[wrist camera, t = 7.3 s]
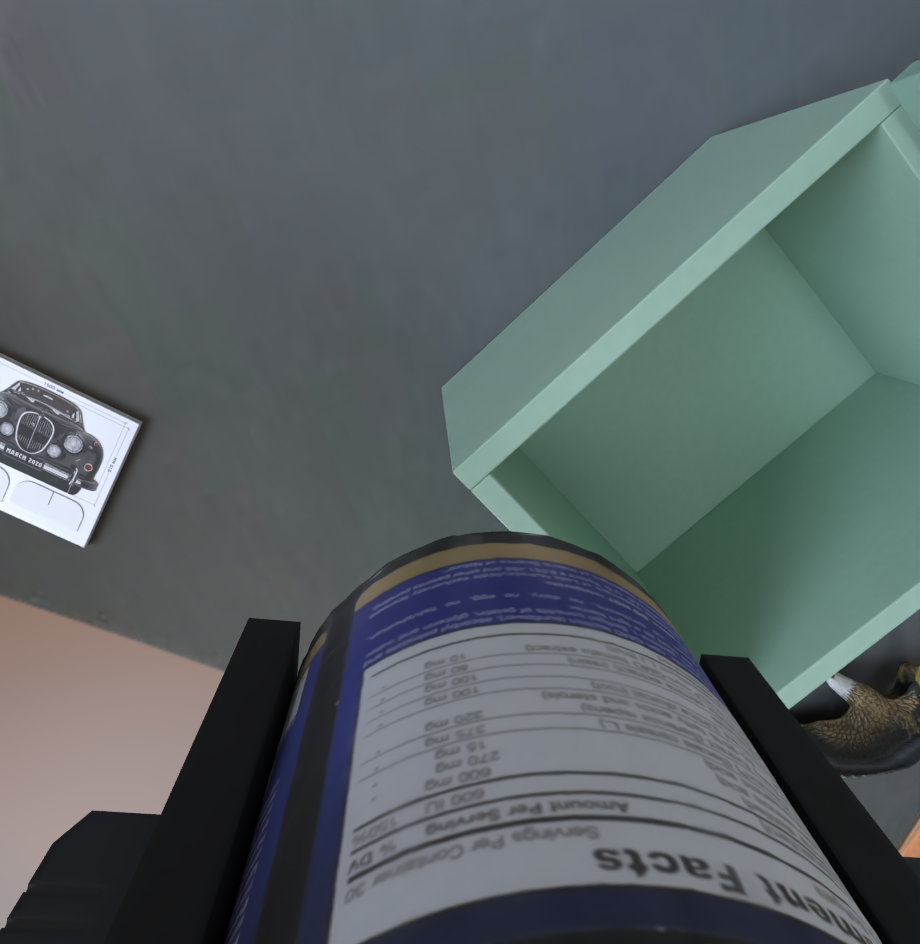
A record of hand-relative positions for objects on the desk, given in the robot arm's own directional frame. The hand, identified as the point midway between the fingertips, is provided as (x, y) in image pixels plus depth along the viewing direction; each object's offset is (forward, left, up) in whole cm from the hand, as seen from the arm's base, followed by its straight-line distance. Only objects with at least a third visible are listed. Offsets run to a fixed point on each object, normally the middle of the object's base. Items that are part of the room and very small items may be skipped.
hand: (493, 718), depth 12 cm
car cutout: (-15, -16, -25) cm, 33 cm away
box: (+6, +8, -25) cm, 27 cm away
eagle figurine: (+25, +4, -25) cm, 36 cm away
